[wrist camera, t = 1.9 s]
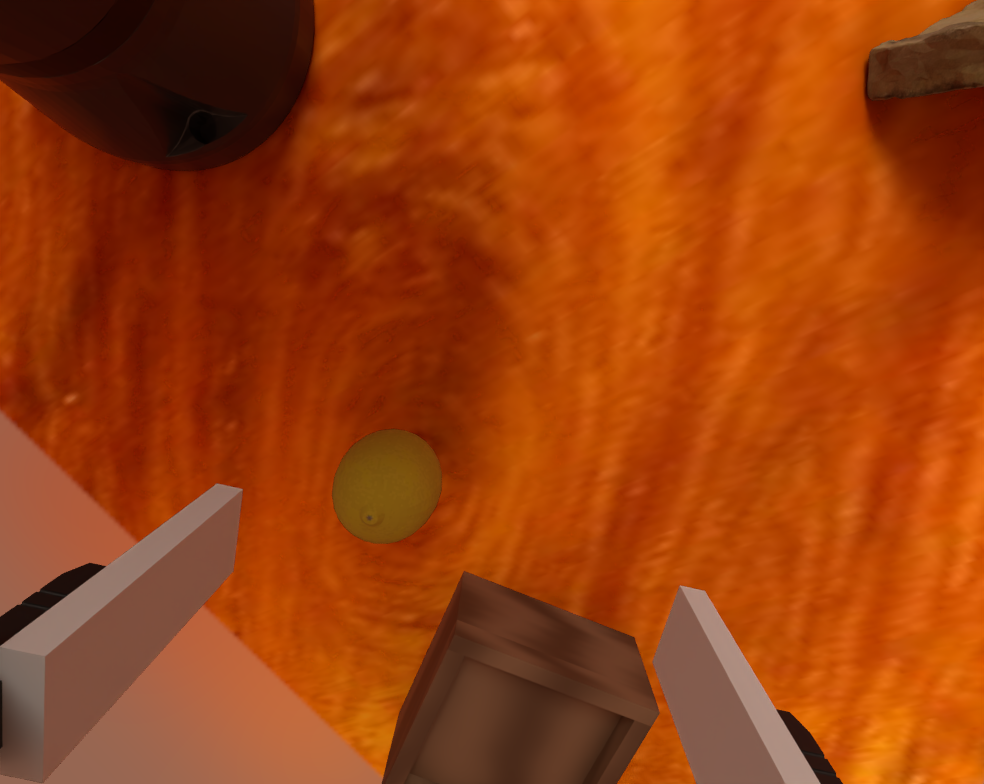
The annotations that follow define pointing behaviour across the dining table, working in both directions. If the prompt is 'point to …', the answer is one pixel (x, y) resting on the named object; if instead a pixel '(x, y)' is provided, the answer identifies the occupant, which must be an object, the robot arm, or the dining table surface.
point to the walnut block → (521, 697)
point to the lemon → (387, 486)
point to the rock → (931, 59)
